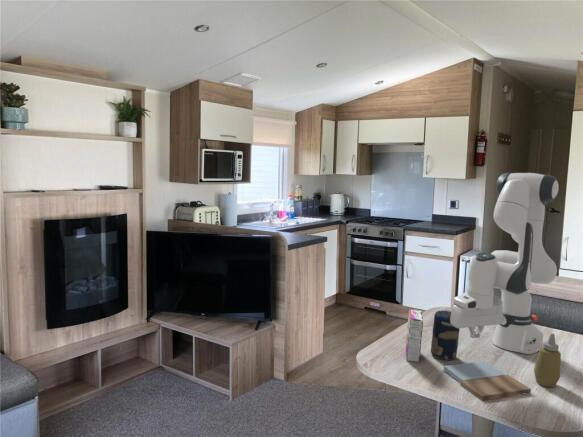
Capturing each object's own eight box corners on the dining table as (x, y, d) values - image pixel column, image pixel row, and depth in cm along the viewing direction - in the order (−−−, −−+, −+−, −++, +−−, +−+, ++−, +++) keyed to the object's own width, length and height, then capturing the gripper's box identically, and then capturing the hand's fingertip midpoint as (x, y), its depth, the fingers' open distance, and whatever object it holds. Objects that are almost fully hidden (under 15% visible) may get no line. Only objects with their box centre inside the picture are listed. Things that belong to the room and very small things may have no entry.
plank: (484, 365, 175) (484, 361, 174) (504, 378, 165) (504, 374, 165) (443, 369, 169) (444, 366, 168) (462, 384, 159) (462, 380, 159)
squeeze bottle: (527, 377, 167) (534, 329, 165) (549, 378, 168) (556, 329, 165) (541, 389, 159) (548, 338, 157) (563, 389, 160) (571, 339, 158)
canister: (456, 353, 184) (461, 309, 182) (456, 363, 175) (461, 317, 173) (430, 349, 187) (435, 305, 185) (429, 358, 178) (434, 312, 176)
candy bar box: (404, 349, 186) (408, 308, 183) (417, 350, 185) (422, 310, 183) (405, 361, 175) (409, 318, 173) (419, 363, 174) (424, 320, 172)
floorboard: (507, 378, 166) (507, 374, 165) (530, 393, 156) (530, 388, 156) (460, 385, 159) (461, 381, 158) (481, 400, 149) (482, 396, 149)
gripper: (496, 295, 171) (491, 331, 173) (449, 298, 164) (445, 336, 166) (509, 300, 166) (504, 338, 168) (461, 304, 159) (457, 343, 161)
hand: (474, 337), depth 167 cm, fingers closed
